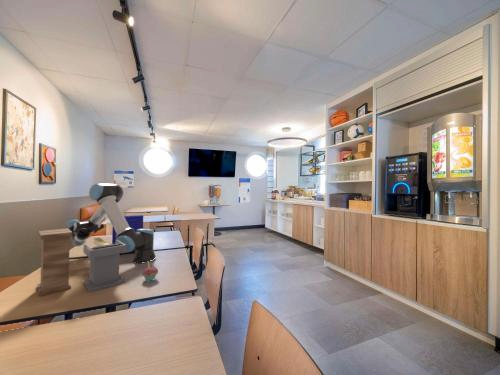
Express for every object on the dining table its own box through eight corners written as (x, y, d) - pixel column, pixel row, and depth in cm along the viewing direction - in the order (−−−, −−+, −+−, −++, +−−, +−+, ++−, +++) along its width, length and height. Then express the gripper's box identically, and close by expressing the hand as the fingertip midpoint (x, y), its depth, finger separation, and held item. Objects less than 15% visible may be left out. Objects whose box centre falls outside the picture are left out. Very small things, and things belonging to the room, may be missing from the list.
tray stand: (82, 283, 120) (83, 245, 120) (116, 274, 132) (117, 240, 132) (88, 292, 110) (89, 250, 110) (125, 282, 122) (126, 244, 122)
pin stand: (37, 286, 114) (38, 230, 114) (66, 280, 123) (68, 228, 123) (39, 296, 105) (40, 235, 105) (70, 288, 114) (72, 232, 114)
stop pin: (84, 244, 129) (84, 239, 129) (107, 241, 138) (107, 236, 138) (94, 253, 113) (94, 248, 113) (120, 249, 122) (120, 244, 122)
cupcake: (151, 283, 121) (152, 262, 121) (138, 282, 123) (139, 261, 123) (160, 277, 130) (161, 257, 130) (148, 276, 132) (148, 256, 132)
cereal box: (141, 249, 186) (142, 214, 186) (142, 250, 181) (143, 215, 181) (111, 252, 174) (112, 215, 174) (111, 254, 169) (112, 216, 169)
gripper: (103, 237, 162) (111, 226, 150) (59, 243, 143) (64, 231, 131) (102, 227, 164) (109, 216, 152) (59, 232, 146) (63, 220, 134)
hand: (88, 223), depth 142 cm, fingers open, 13 cm apart
